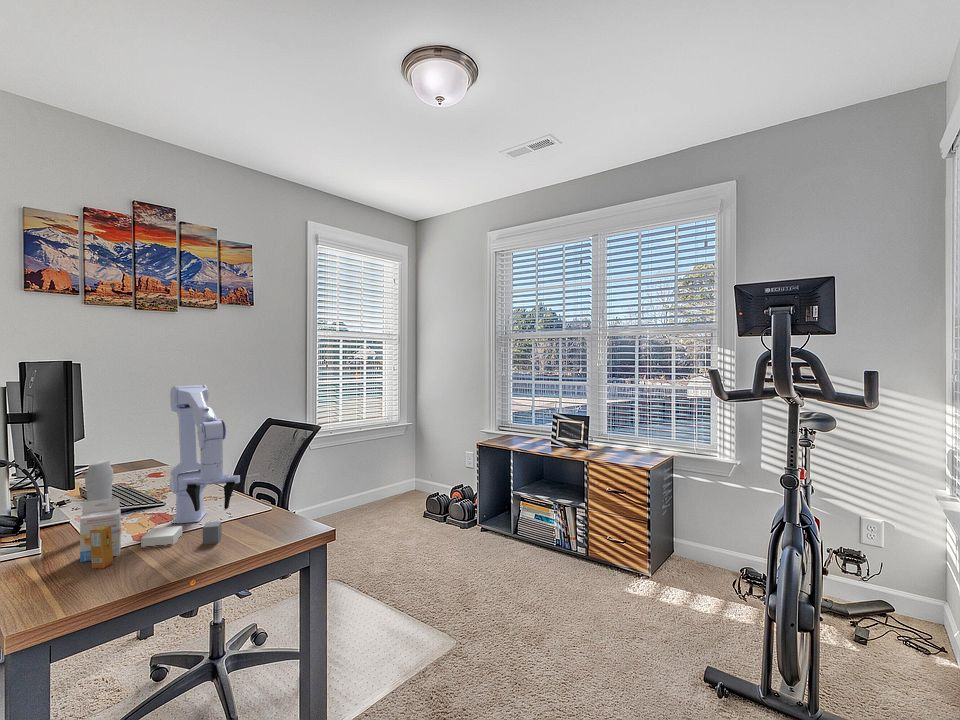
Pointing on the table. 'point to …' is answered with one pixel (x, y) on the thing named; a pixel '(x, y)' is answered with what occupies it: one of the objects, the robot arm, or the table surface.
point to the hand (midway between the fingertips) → (212, 509)
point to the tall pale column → (99, 482)
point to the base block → (161, 536)
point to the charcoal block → (212, 532)
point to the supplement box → (101, 546)
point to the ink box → (100, 524)
